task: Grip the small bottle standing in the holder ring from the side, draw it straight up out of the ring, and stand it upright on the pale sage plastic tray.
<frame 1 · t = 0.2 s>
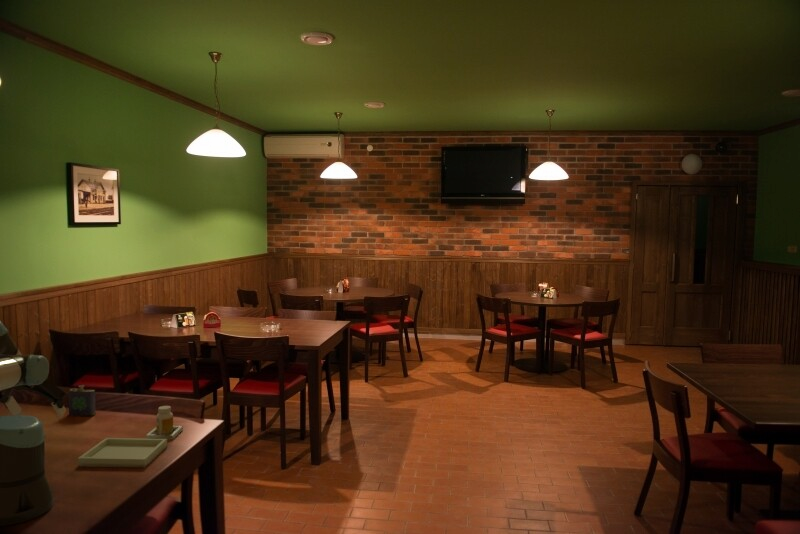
hand: (40, 413, 166), 15 cm above the table, fingers open, 13 cm apart
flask: (81, 415, 208), on the table
holder ring: (164, 434, 190), on the table
tray: (124, 455, 172), on the table
supplement bottle: (164, 435, 190), resting in holder ring
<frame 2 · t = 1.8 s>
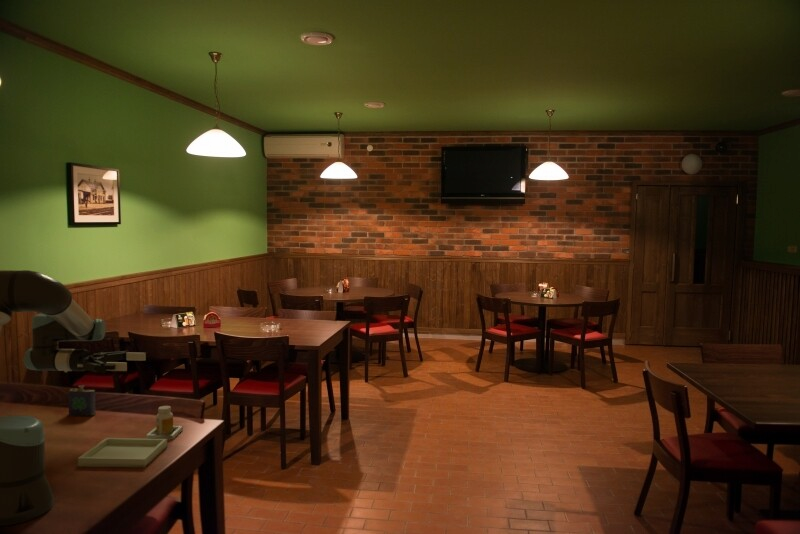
hand: (136, 361, 188), 26 cm above the table, fingers open, 13 cm apart
nothing on the table moved.
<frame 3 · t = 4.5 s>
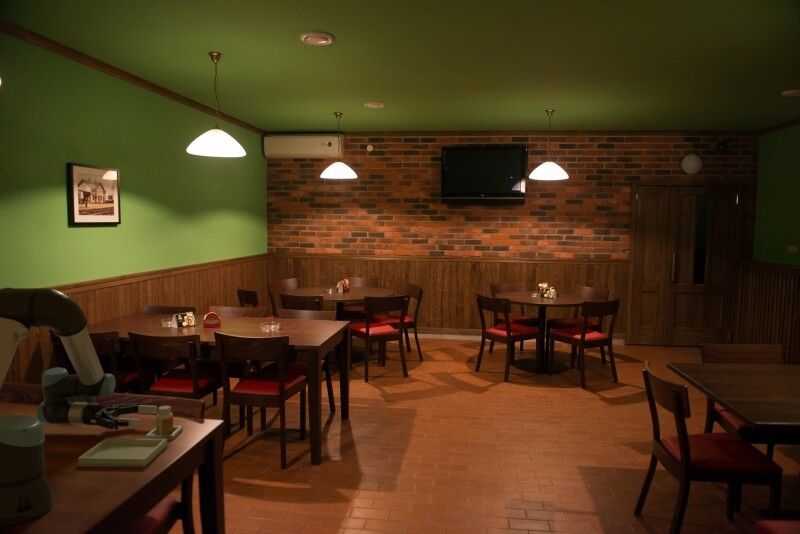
hand: (148, 416, 191), 6 cm above the table, fingers open, 13 cm apart
nothing on the table moved.
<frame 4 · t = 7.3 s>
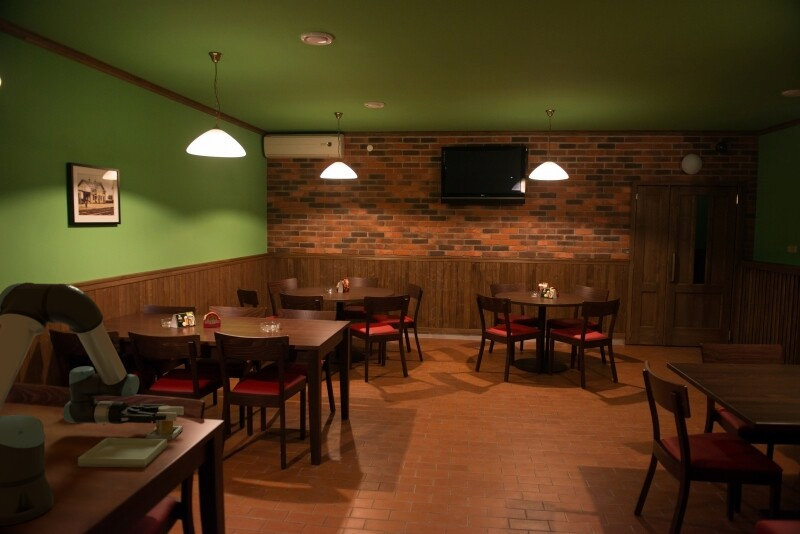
hand: (179, 413, 190), 8 cm above the table, fingers closed on supplement bottle, 5 cm apart
supplement bottle: (164, 435, 190), resting in holder ring, touching gripper
everything else where it was.
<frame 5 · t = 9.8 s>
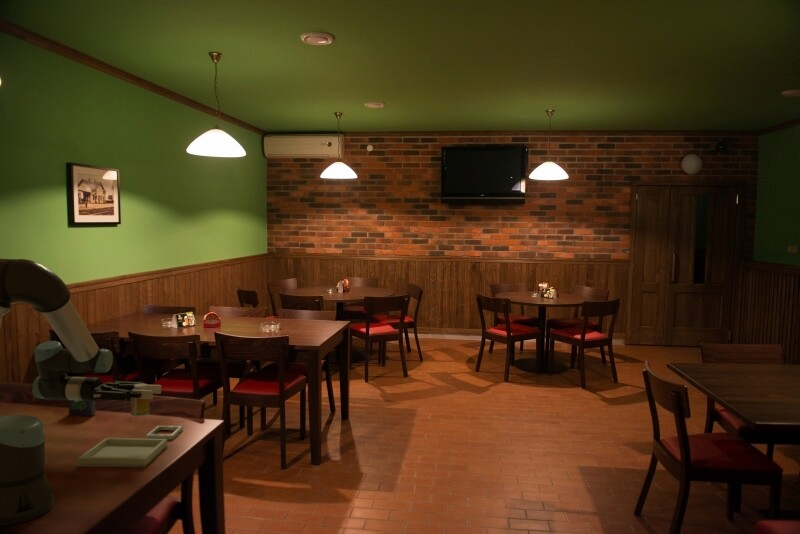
hand: (156, 392, 179), 18 cm above the table, fingers closed on supplement bottle, 5 cm apart
supplement bottle: (140, 414, 179), point 11 cm above the table, touching gripper
everything else where it was.
when the fingers open (10 cm above the table, at t = 12.5 s): supplement bottle drops 1 cm, resting on tray.
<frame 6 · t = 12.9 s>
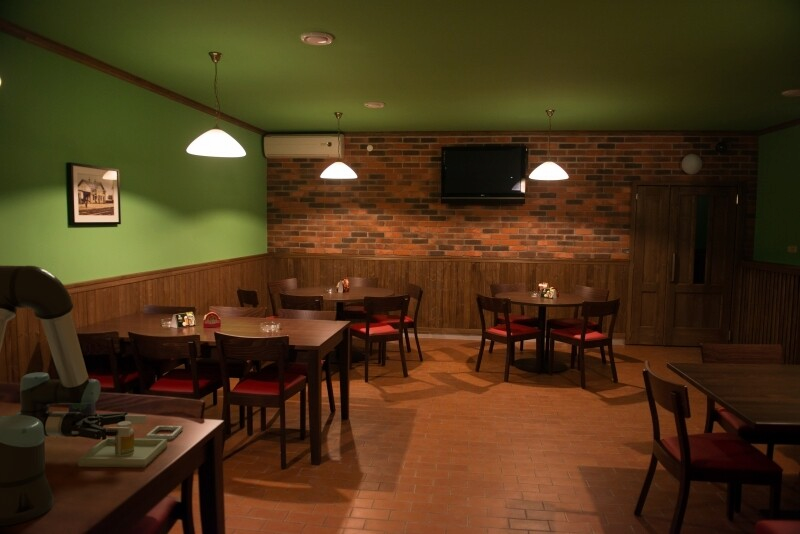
hand: (137, 425, 172), 10 cm above the table, fingers open, 10 cm apart
supplement bottle: (124, 453, 172), point 1 cm above the table, touching tray
everything else where it was.
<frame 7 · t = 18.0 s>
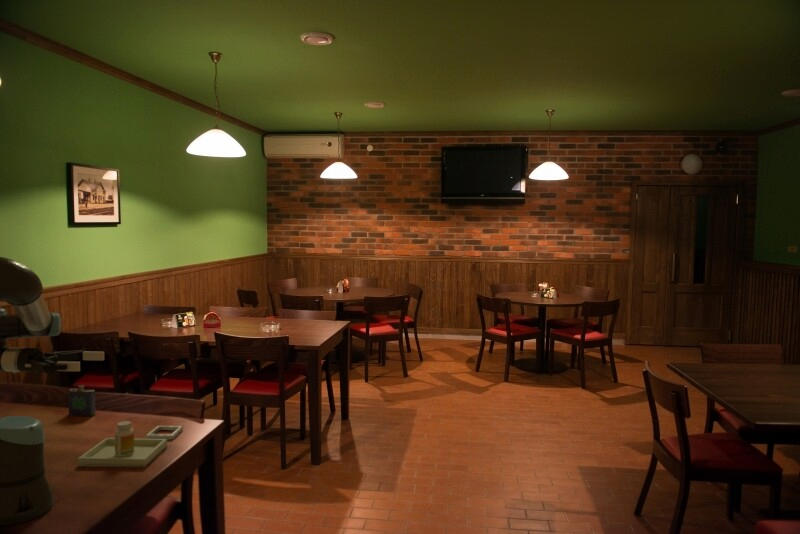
hand: (92, 361, 170), 30 cm above the table, fingers open, 13 cm apart
nothing on the table moved.
at the end: supplement bottle inside the target area on the tray (0.1 cm from its centre), point 0.6 cm above the tray's base; supplement bottle tilted 0°; the gripper is holding nothing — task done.
